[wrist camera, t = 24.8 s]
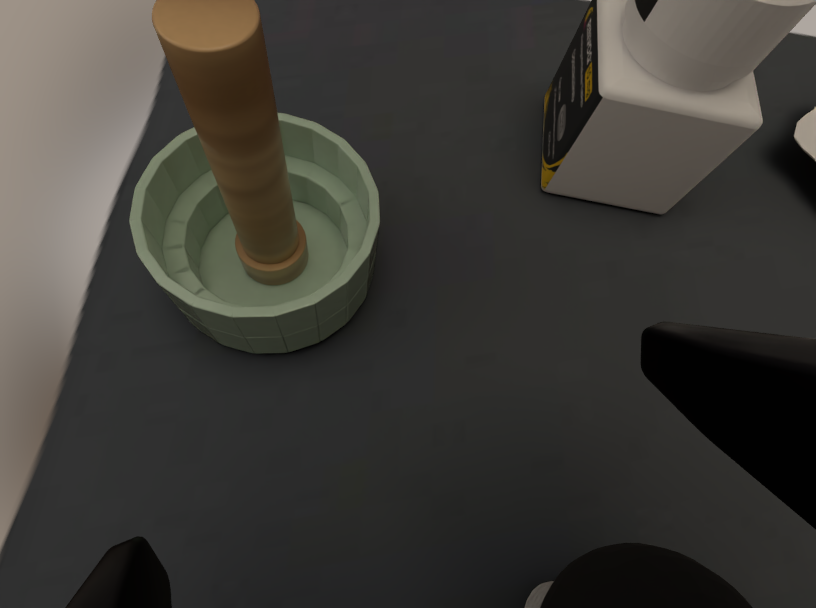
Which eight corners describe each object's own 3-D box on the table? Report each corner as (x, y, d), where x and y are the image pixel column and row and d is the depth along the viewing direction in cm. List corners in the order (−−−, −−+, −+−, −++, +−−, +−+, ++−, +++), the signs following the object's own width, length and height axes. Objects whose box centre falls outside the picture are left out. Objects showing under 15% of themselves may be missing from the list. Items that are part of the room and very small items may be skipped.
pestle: (306, 286, 22) (267, 65, 11) (238, 285, 21) (124, 54, 10) (309, 229, 23) (277, -25, 12) (244, 226, 23) (148, -37, 12)
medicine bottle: (542, 96, 29) (663, -154, 18) (656, 120, 29) (842, -111, 18) (538, 193, 26) (679, -33, 15) (664, 218, 26) (890, 15, 15)
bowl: (376, 354, 22) (385, 314, 17) (164, 360, 20) (111, 319, 16) (369, 187, 25) (374, 116, 20) (186, 183, 24) (148, 107, 19)
